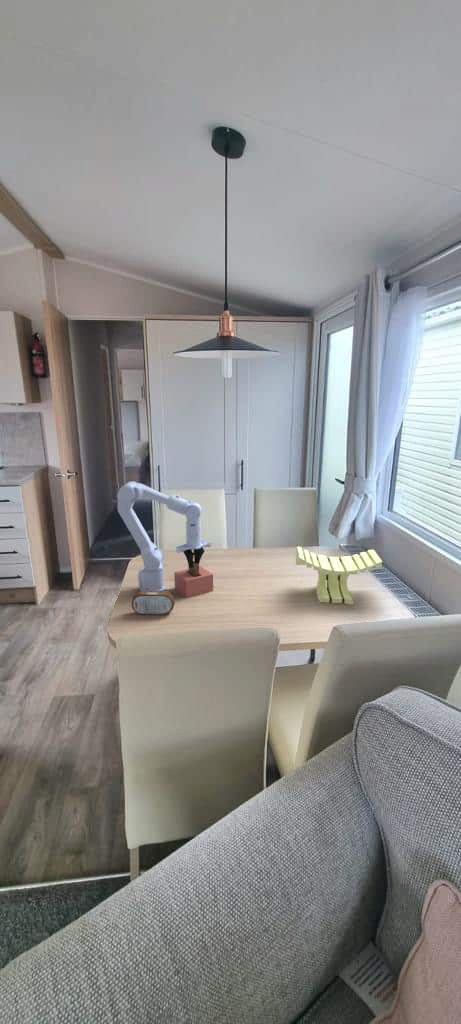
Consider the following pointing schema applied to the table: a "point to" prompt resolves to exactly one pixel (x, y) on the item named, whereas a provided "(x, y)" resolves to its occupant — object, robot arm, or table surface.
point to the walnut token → (194, 569)
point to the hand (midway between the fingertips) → (193, 566)
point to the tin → (153, 602)
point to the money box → (193, 582)
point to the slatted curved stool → (336, 572)
